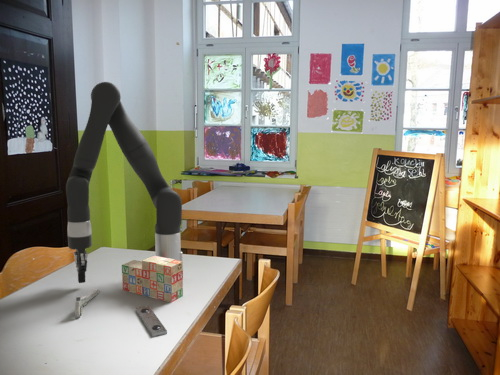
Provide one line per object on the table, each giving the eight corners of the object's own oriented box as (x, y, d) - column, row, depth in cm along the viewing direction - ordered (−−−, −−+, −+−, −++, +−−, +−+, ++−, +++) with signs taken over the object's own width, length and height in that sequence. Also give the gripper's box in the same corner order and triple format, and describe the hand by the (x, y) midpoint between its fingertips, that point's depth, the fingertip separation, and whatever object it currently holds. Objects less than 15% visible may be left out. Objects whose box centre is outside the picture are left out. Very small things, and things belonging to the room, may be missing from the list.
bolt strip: (149, 308, 126) (148, 305, 126) (167, 333, 111) (166, 330, 111) (136, 310, 125) (135, 307, 124) (152, 336, 109) (152, 333, 109)
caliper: (79, 319, 119) (78, 298, 118) (75, 319, 119) (74, 299, 118) (99, 292, 139) (99, 274, 138) (96, 292, 139) (95, 274, 138)
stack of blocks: (122, 290, 140) (120, 256, 139) (134, 284, 146) (134, 251, 144) (171, 303, 131) (171, 266, 129) (183, 296, 136) (183, 260, 135)
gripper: (94, 236, 135) (96, 286, 138) (88, 228, 147) (90, 274, 149) (69, 239, 132) (72, 290, 134) (65, 230, 143) (68, 277, 146)
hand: (81, 282), depth 142 cm, fingers closed
